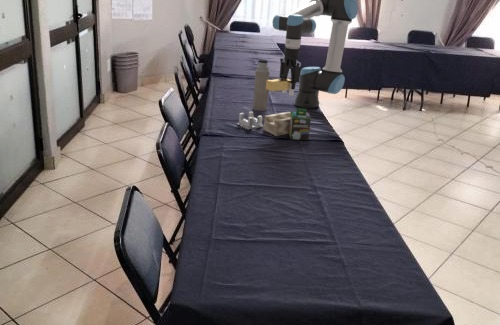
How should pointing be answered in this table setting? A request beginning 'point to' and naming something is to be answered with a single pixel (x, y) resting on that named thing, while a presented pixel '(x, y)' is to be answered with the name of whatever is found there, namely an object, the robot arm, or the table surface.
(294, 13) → the robot arm
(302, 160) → the table surface
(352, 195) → the table surface
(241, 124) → the stand
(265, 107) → the thermos bottle
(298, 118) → the chalk box
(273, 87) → the wooden block
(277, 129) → the beige channeled block
